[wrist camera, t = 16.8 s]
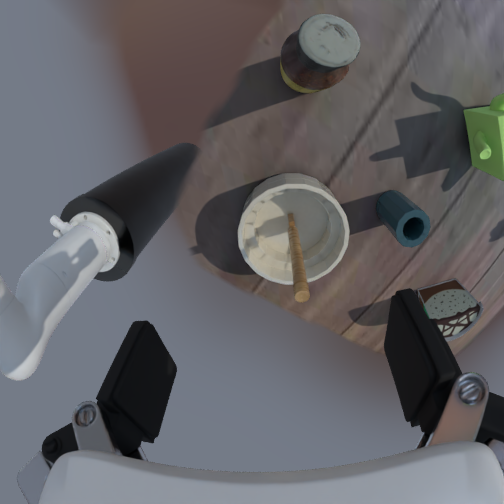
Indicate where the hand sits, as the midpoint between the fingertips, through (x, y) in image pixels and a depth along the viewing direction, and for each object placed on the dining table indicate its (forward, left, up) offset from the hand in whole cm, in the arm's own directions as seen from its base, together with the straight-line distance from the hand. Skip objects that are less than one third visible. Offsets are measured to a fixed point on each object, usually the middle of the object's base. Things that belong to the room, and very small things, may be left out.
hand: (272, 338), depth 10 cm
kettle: (+23, +28, -31) cm, 47 cm away
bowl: (+7, -5, -30) cm, 32 cm away
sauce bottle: (-4, +13, -31) cm, 33 cm away
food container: (+40, 0, -31) cm, 50 cm away
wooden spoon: (+7, -5, -30) cm, 31 cm away
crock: (+18, +6, -30) cm, 36 cm away
